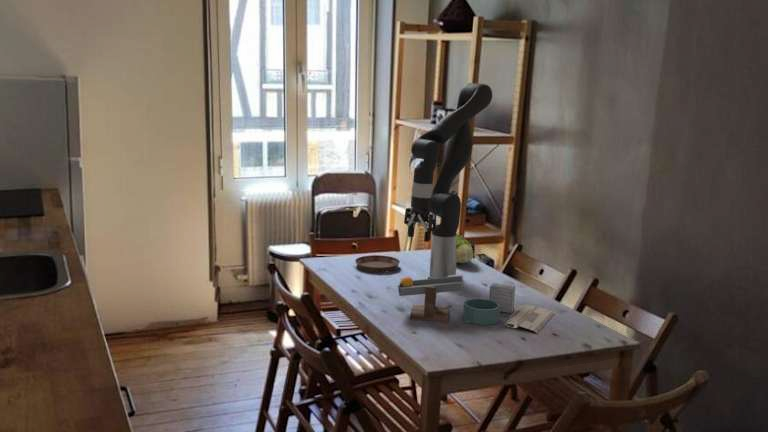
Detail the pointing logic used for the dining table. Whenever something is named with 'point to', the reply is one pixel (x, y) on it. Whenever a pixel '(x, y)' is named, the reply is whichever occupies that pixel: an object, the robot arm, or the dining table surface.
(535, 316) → the newspaper
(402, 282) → the ball
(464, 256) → the lettuce
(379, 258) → the plant saucer
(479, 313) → the teal faceted bowl
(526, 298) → the dining table surface
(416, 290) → the lever
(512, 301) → the medicine box
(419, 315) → the lever stand
